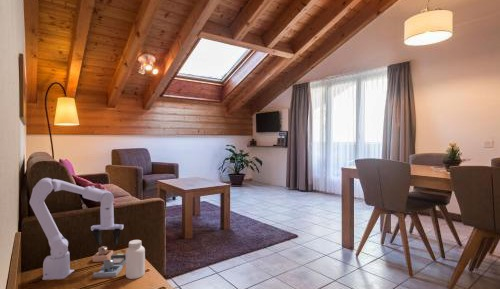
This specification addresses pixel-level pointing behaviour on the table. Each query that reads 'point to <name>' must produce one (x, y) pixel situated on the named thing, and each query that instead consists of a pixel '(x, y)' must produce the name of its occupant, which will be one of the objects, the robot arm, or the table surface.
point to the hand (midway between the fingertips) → (107, 244)
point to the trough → (111, 274)
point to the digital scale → (119, 257)
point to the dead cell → (102, 251)
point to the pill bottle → (135, 260)
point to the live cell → (108, 265)
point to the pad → (118, 260)
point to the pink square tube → (101, 258)
